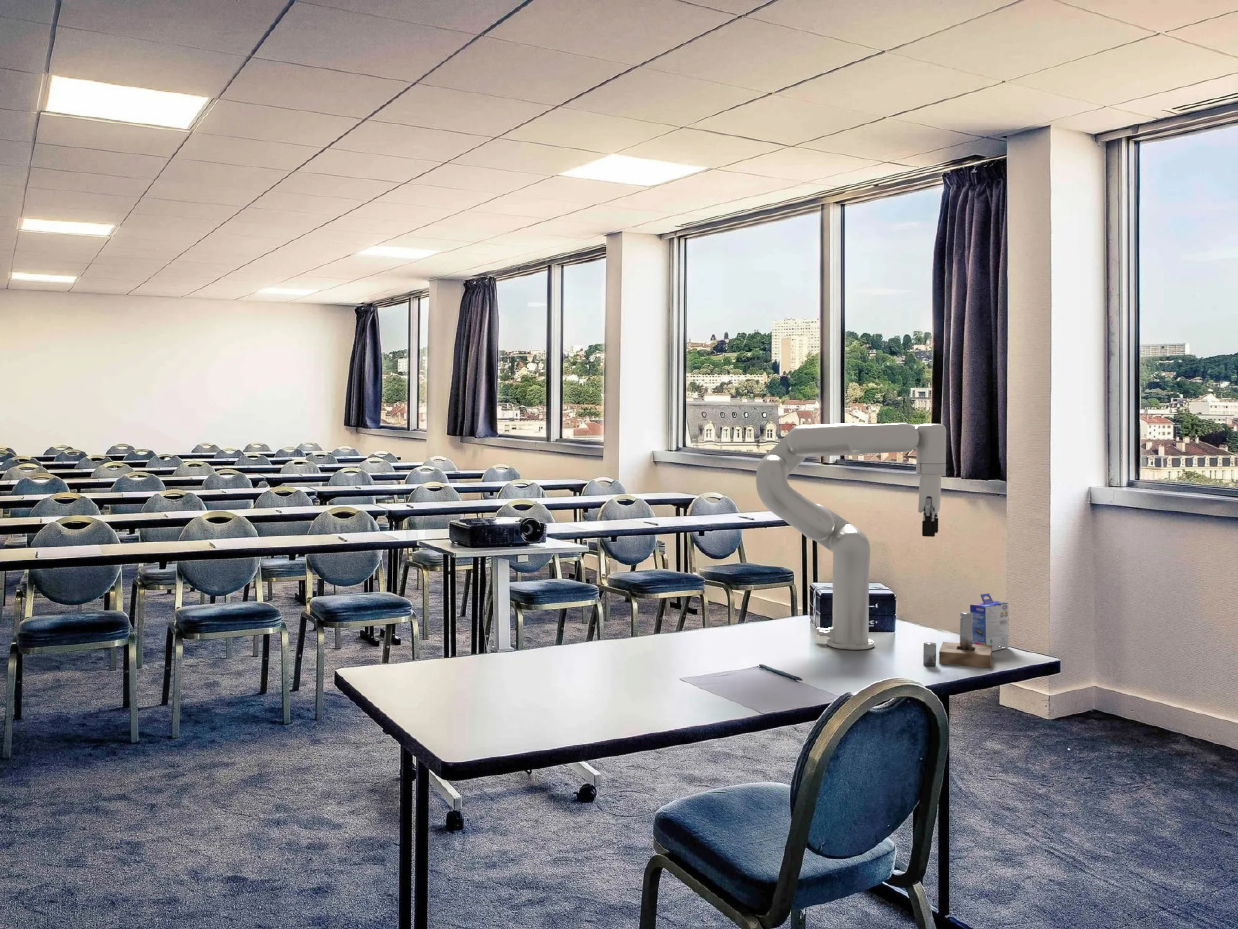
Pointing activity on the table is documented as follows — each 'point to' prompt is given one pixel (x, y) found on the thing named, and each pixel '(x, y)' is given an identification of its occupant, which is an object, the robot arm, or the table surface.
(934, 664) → the short pin
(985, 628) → the ink cartridge box
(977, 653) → the socket block
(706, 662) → the table surface
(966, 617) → the long pin
